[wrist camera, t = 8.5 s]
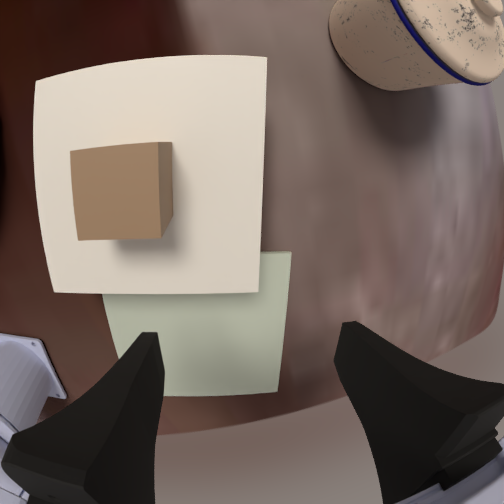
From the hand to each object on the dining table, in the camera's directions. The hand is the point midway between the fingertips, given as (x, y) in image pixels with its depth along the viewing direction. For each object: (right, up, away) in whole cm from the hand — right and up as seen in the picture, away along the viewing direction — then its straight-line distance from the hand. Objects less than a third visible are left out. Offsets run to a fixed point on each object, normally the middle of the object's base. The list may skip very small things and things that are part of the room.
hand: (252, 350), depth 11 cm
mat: (-4, -3, +12) cm, 13 cm away
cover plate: (-6, +7, +3) cm, 10 cm away
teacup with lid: (+9, +21, +5) cm, 23 cm away
